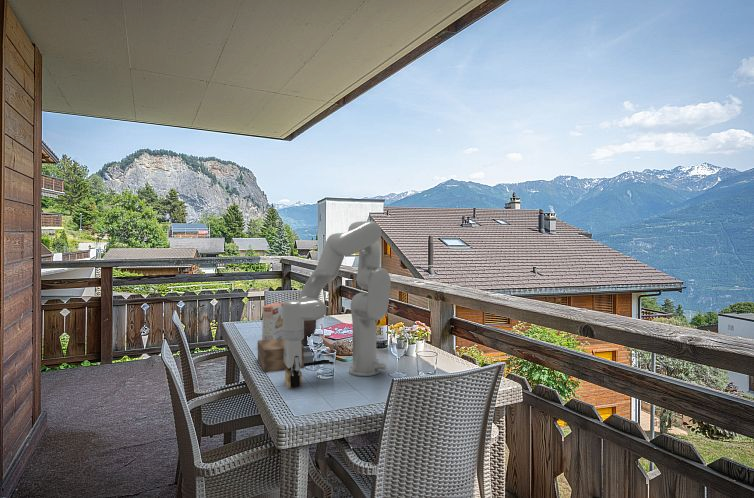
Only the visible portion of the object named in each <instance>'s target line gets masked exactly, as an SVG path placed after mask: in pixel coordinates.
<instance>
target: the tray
mask: <svg viewBox="0 0 754 498" xmlns="http://www.w3.org/2000/svg"><path fill="white" fill-rule="evenodd" d="M319 337H321V338H322V339H323V344H324V346H326V347H329V348H330V350H333V351H335V350H334V349H335V348H334V346H335V345H334V342H333V343H332V342H331V341H330V340H329V339H327V338H326V337H325V336H324V335H321V334H320V335H318V338H319ZM309 347H310V346H304V364H309V363H311V364H312V363H314V362H313V358H314V355H312V352H311V350H310V348H309Z"/></svg>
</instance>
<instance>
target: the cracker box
mask: <svg viewBox="0 0 754 498" xmlns="http://www.w3.org/2000/svg"><path fill="white" fill-rule="evenodd" d="M283 303H284V302H272V303H270V304H266V305H264V306H262V318H261V320H262V327H261V328H262V329H261V330H262V332H261V333H262V335H261V337H262V339H261V340H269V339H280V338H283Z"/></svg>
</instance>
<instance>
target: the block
mask: <svg viewBox="0 0 754 498" xmlns="http://www.w3.org/2000/svg"><path fill="white" fill-rule="evenodd" d="M294 370H295V369H293V371H294ZM299 371H300V386H298V388H299V387H302V386H303V379H302V378H303V372H302V371H301V370H299ZM291 376H292V375H291V370H284V379H285V380H284V384H285V386H286V388H287V389H291V388H293V387H291Z"/></svg>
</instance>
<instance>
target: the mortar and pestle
mask: <svg viewBox="0 0 754 498" xmlns="http://www.w3.org/2000/svg"><path fill="white" fill-rule="evenodd" d="M316 329H317V320H304V338H303V339H301V344H302V345H303V346H304V347H308V346H307V336H308V337H310V336H311V334H312V333H313V334H314V335H315V332H316Z"/></svg>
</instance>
